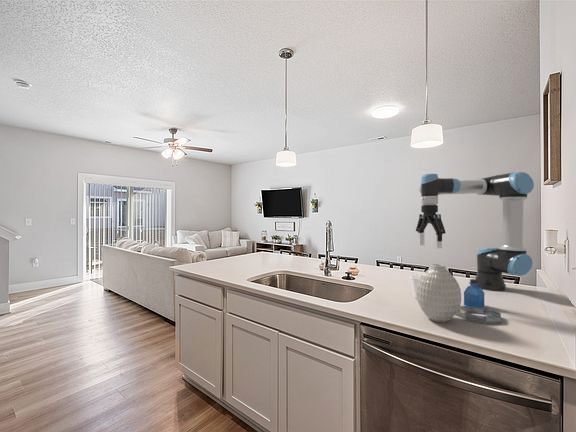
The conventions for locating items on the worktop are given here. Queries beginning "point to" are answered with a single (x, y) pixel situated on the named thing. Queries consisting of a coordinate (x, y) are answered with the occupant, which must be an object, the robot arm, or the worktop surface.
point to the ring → (491, 316)
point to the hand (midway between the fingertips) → (429, 246)
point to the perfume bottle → (474, 295)
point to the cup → (414, 283)
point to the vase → (438, 294)
